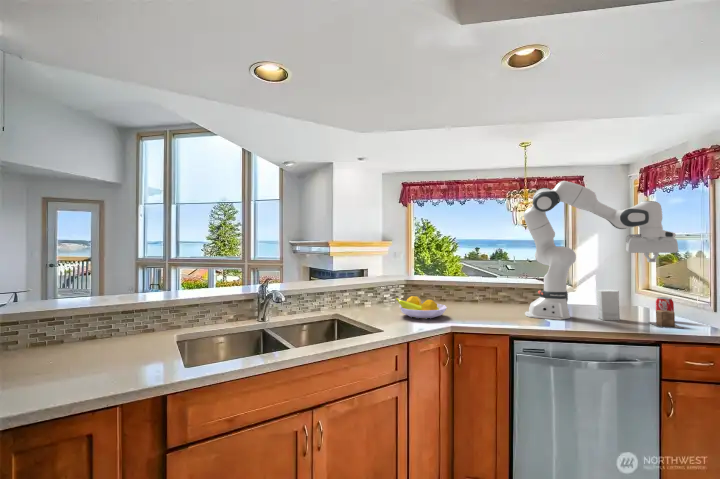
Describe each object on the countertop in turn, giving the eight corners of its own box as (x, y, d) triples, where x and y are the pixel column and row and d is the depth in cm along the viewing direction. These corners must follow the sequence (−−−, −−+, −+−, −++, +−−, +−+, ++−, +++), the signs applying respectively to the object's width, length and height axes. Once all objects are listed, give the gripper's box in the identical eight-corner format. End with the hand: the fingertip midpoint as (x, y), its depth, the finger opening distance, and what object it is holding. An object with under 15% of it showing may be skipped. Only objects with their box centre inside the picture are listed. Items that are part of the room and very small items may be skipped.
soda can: (677, 322, 178) (677, 299, 178) (661, 322, 179) (660, 298, 179) (668, 319, 185) (667, 296, 185) (652, 319, 186) (652, 296, 186)
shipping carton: (661, 325, 170) (661, 311, 170) (656, 323, 175) (656, 310, 175) (674, 326, 169) (674, 312, 169) (669, 323, 174) (668, 310, 174)
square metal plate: (658, 327, 169) (658, 314, 169) (648, 322, 178) (648, 311, 178) (683, 328, 166) (683, 316, 166) (672, 323, 175) (672, 312, 175)
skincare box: (615, 318, 189) (614, 289, 189) (620, 321, 182) (619, 291, 183) (597, 317, 191) (596, 289, 191) (601, 320, 185) (601, 290, 185)
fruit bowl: (442, 312, 211) (442, 293, 211) (449, 322, 184) (449, 300, 184) (395, 311, 214) (395, 293, 214) (395, 321, 187) (395, 300, 187)
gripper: (628, 234, 173) (629, 262, 172) (679, 233, 166) (680, 262, 166) (623, 234, 179) (623, 261, 178) (672, 233, 172) (673, 261, 172)
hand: (651, 262), depth 172 cm, fingers closed
